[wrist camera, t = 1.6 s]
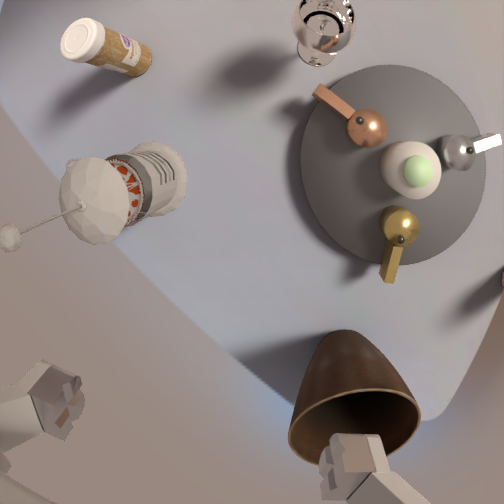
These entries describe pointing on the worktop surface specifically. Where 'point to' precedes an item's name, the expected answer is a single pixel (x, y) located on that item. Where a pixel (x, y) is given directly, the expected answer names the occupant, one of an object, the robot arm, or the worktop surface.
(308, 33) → the wineglass
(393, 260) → the knob brass
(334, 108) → the knob copper
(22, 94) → the worktop surface
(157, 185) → the vented spool lamp
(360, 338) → the plant pot
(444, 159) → the knob steel
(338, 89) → the tribrach
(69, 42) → the sprinkles bottle
